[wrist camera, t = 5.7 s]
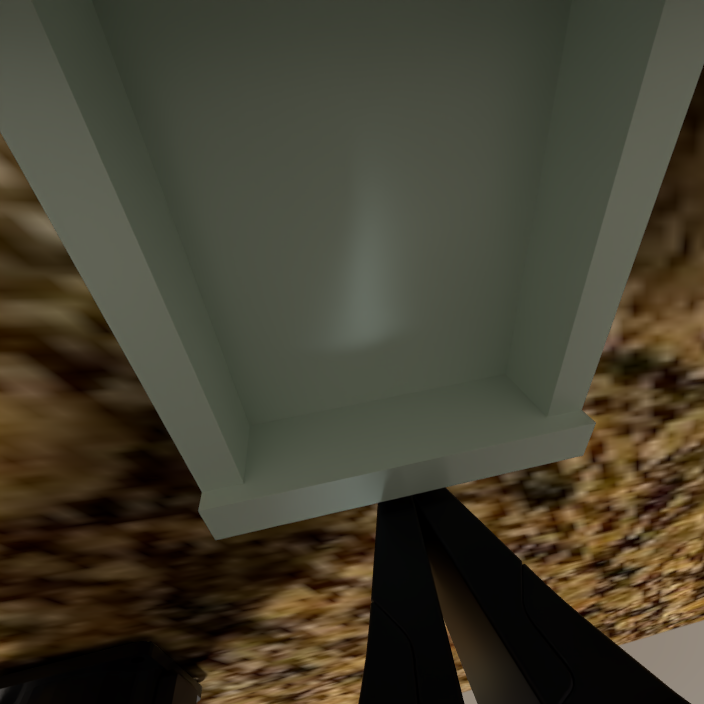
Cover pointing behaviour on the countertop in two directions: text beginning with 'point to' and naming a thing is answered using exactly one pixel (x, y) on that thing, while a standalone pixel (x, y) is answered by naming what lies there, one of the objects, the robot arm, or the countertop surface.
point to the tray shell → (352, 221)
